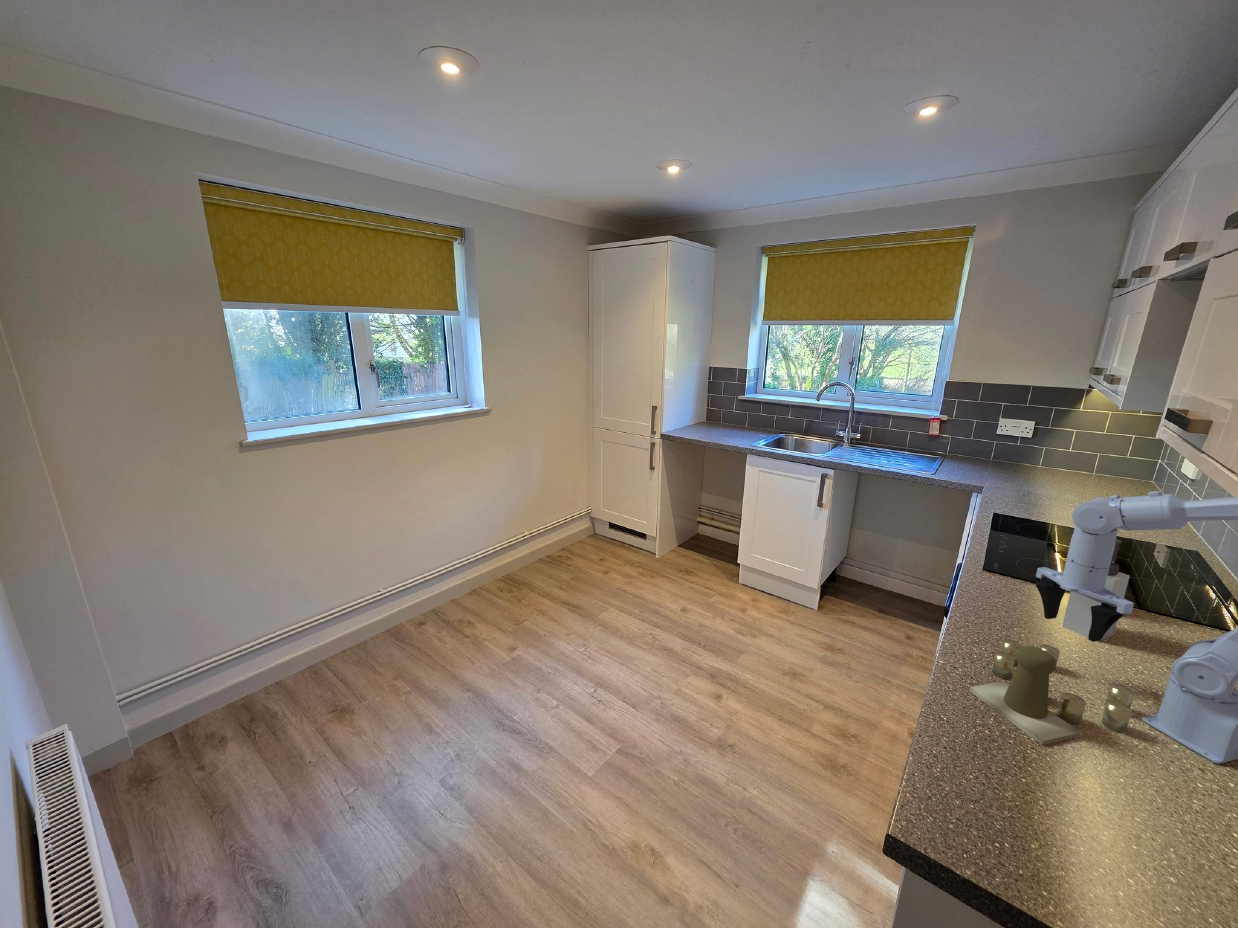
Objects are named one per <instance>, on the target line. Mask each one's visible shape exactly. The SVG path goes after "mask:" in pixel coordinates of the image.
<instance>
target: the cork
mask: <svg viewBox="0 0 1238 928" xmlns="http://www.w3.org/2000/svg"><path fill="white" fill-rule="evenodd" d="M1016 659H1017V662H1018V665H1016V669H1015V671H1014V672H1013V674H1012V676H1011V680H1010V682H1009V683H1008V684H1009V686H1008V689H1007V691H1006V693H1005V696H1004V702H1005V704H1006V705H1007V706H1008V707H1009V708H1011V709H1012V710H1014V711H1015V712H1017V713H1019V714H1021V715H1024V716H1027V717H1030V718H1034V719H1043V718H1046V717H1047V714H1048V710H1049V690H1050V689H1049V688H1050V687H1049V686H1050V675H1051V674H1053V673H1055V672H1054V670H1055V671H1056V669H1055V668H1057V665H1056V661H1055V659H1054V657H1053V656H1052V655H1051V654H1050V653H1048V652H1047V651H1045V650H1043V649H1041V648H1039V646H1038V647H1037V646H1034V645H1022V647H1021V648H1020V649H1018V651H1017V654H1016Z"/></svg>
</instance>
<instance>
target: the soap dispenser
mask: <svg viewBox="0 0 1238 928" xmlns="http://www.w3.org/2000/svg"><path fill="white" fill-rule="evenodd" d="M1122 542H1123V541H1122V540H1120V539H1117V538H1116V540H1115V543H1116V544H1115V548H1114V552H1113V556H1112V560H1111V564H1110V568H1109V571H1108V575H1107V579H1106V583H1105V587H1104V588H1106V589H1108V590H1110V591H1111V592H1113V593H1115V594H1117V595H1118V596H1120V597H1122V598H1124V599H1125V594H1126V592H1127V587H1128V584H1129V581H1130V577H1131V575H1130V574H1128V573H1127V574H1126V573H1123V572H1120V564H1118V563H1116V562H1115V561H1116V560H1117V557H1118V553H1119V549H1120V545H1121V544H1122ZM1113 562H1114V563H1113ZM1096 605H1101V603H1099V602H1097V601H1095V600H1092V599H1090V598H1088V597H1085V596H1083V595H1081V594H1078V593H1076V592H1070V593H1069V595H1068V600H1067V605H1066V609H1065V613H1064V617H1063V622H1062V626H1061V627H1062V628H1065V629H1067V630H1070V631H1072V632H1073V633H1077V634H1079V635H1081V636H1084V637H1086V638H1088V636H1089V631H1090V628H1091V622H1092V614H1091V606H1096ZM1117 624H1118V621H1116V622H1115V623H1114V624H1113V625H1112V626H1111V627H1110V628H1109V629H1108V631H1107V632H1106V633H1105V635H1104V636H1103V638H1102V639H1101V641H1103V640H1106V639H1108V638H1110V637H1113V636H1114V635H1115V632H1116V628H1117ZM1096 642H1098V643H1099V642H1100V641H1096Z"/></svg>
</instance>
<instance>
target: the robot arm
mask: <svg viewBox="0 0 1238 928" xmlns="http://www.w3.org/2000/svg"><path fill="white" fill-rule="evenodd" d="M1071 517H1072V521H1073V523H1074V530H1073V534H1071V539H1070V543H1069V547H1068V551H1067V556H1066V559H1065V560H1066V561H1065V564H1064V569H1063V571H1058V570H1055V569H1051V568H1049V567H1047V566H1043V567H1038V568H1037V570H1036V573H1035V577H1036V578H1037V579H1038V578H1039V579H1040V580H1038V581H1036V582H1035V587H1036V589H1037V590H1038V592H1039V595H1040V598H1041V602H1042V608H1043V615H1044V616H1043V617H1044V618H1045V619H1046V620H1053V619H1056V618H1057V617H1058V615H1059V610H1060V607H1061V603H1062V600H1063V597H1064V595H1065V594H1066V592H1076V593H1078V594H1081V595H1083V596H1085V597H1088V598H1090V599H1092V600H1095V601H1097V602H1099V603H1101V605H1096V606H1091V614H1092V622H1091V628H1090V631H1089V636H1088V637H1087V638H1088V641H1090V642H1092V643H1094V642H1097V641H1099V642H1101V641H1102V640H1101V639H1102V638H1103V636H1104V635H1105V633H1106V632H1107V631H1108V629H1109V628H1110V627H1111V626H1112V625H1113V624H1114V623H1115V622H1116V621H1117V622H1119V620H1120V619H1121V618H1123V617H1124V616H1126V615H1128V614H1132V612H1133V609H1134V606H1135V602H1133V601H1130V600H1128V599H1126V598H1125V597H1124V598H1122V597H1120V596H1118V595H1117V594H1115V593H1113V592H1111V591H1110V590H1108V589H1106V588H1104V587H1105V583H1106V579H1107V575H1108V571H1109V568H1110V564H1111V560H1112V556H1113V552H1114V548H1115V544H1116V543H1115V540H1116V539H1117V536H1118V532H1119V530H1123V531H1127V532H1128V531H1156V530H1157V531H1160V530H1163V531H1164V530H1181V529H1182V528H1184V527H1185V526H1186V525H1187V524H1188V523H1189V522H1190V521H1192V522H1193V521H1197V522H1198V521H1203V522H1204V521H1207V522H1208V521H1211V522H1212V521H1238V496H1230V497H1227V496H1226V497H1216V498H1207V499H1194V500H1192V499H1191V500H1185V498H1181V497H1180V496H1178V495H1175V494H1173V493H1169V494H1168V493H1166V494H1165V493H1164V494H1163V491H1162V490H1156V491H1154V490H1153V491H1149V492H1148V493H1147V495H1139V496H1137V495H1136V496H1125V497H1123V496H1121V495H1120V494H1116V495H1115V494H1113V495H1110V496H1109V498H1108V497H1095V498H1093V499H1089V500H1088V501H1085V502H1083V503H1080V504H1078V505H1077V506H1076V507H1075V508H1074V510H1073V512H1072V516H1071ZM1237 683H1238V626H1237V627H1235V628H1234V629H1231V630H1230V631H1227V632H1224V633H1222V634H1221V635H1218V636H1217V637H1215V638H1212V639H1203V640H1197V641H1195V642H1192V643H1191V644H1190V645H1189V646H1188V648H1187V649H1186V651H1185V653H1183V655H1181V656H1180V657H1179V658H1177V659H1175V660H1174V661H1173V663H1172V665H1171V672H1170V675H1169V678H1168V680H1167V683H1166V684H1167V685H1166V688H1165V690H1164V694H1163V697H1162V700H1161V704H1160V706H1159V711H1158V712H1157V713H1156V714H1151V715H1147V716H1142V717H1141V720H1142V721H1143V722H1145V723H1146V724H1148V725H1149V726H1151V727H1153V728H1154V729H1156V730H1158V731H1159V732H1162V733H1163V734H1164V735H1167V736H1168V737H1169V738H1171V739H1173V740H1175V741H1177V742H1178V743H1180V744H1182V745H1183V746H1185V747H1187V748H1188V749H1190V750H1192V751H1194V752H1195V753H1197V754H1199V755H1201V756H1202V757H1203V758H1206V759H1207V760H1209V761H1210V762H1213V763H1214V764H1224V763H1227V762H1231V761H1232V762H1233V761H1235V760H1238V689H1237V687H1236V684H1237Z"/></svg>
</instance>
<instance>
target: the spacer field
mask: <svg viewBox="0 0 1238 928" xmlns="http://www.w3.org/2000/svg"><path fill="white" fill-rule="evenodd" d="M1021 647H1023V645H1022V643H1020V642H1018V641H1016V640H1013V639H1007V638H1006V639H1005V638H1004V639H1003V641H1002V644H1001V650H1000V651H996V652H995V655H994V659H993V663H992V667H991V673H992V674H993V675H994V676H995V677H997V678H999V679H1003V680H1010V679H1012V677H1013V670H1014V667H1015V666H1016V667H1017V666H1018V664H1019V663H1018V662H1017V659H1016V654H1017V651H1018V649H1020V648H1021ZM1038 648H1041V649H1043V650H1045V651H1047V652H1048V653H1050V654H1051V655H1052V656H1053V657H1054V659H1055V661H1056V666H1057V665H1058V660H1059V657H1060V656H1059V655H1060V652H1061V651H1060V650H1059V649H1058V648H1057V647H1055V646H1053V645H1049V644H1044V643H1043V644H1039V646H1038ZM1056 668H1057V667H1056ZM1056 668H1055V670H1054V671H1056ZM1109 685H1110V686H1109V688H1108V692H1107V695H1106V700H1105V703H1104V705H1105V707H1104V710H1103V714H1102V718H1101V721H1100V722H1101V724H1102V725H1103V727H1105V728H1107V729H1108V730H1110V731H1112V732H1114V733H1119V734H1124V733H1127V729H1128V726H1129V723H1130V720H1131V716H1132V713H1133V709H1132V708H1131V707H1132V704H1133V701H1134V697H1135V691H1134V690H1133V689H1131V687H1128V686H1126V685H1123V684H1120V683H1118V682H1117V683H1116V682H1113V683H1110V684H1109ZM1086 705H1087V701H1086V700H1085V699H1084V698H1082V697H1081V696H1079V695H1077V694H1075V693H1071V692H1062V694H1061V698H1060V702H1059V705H1058V709H1057V715H1056V716H1058V717H1059V718H1061V719H1062V720H1064V721H1065V722H1067V723H1068V724H1070V725H1071V726H1079V725H1081V724H1082V720H1083V716H1084V713H1085V708H1086Z"/></svg>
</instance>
